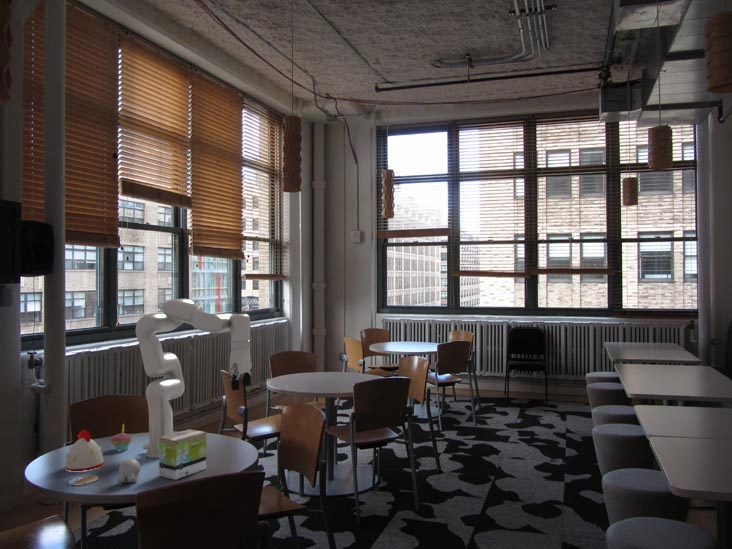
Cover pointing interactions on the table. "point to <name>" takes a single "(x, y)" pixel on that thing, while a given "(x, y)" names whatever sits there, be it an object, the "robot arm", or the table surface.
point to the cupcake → (121, 440)
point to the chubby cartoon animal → (129, 471)
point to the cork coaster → (86, 479)
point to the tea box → (182, 454)
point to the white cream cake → (84, 454)
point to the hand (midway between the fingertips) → (241, 387)
